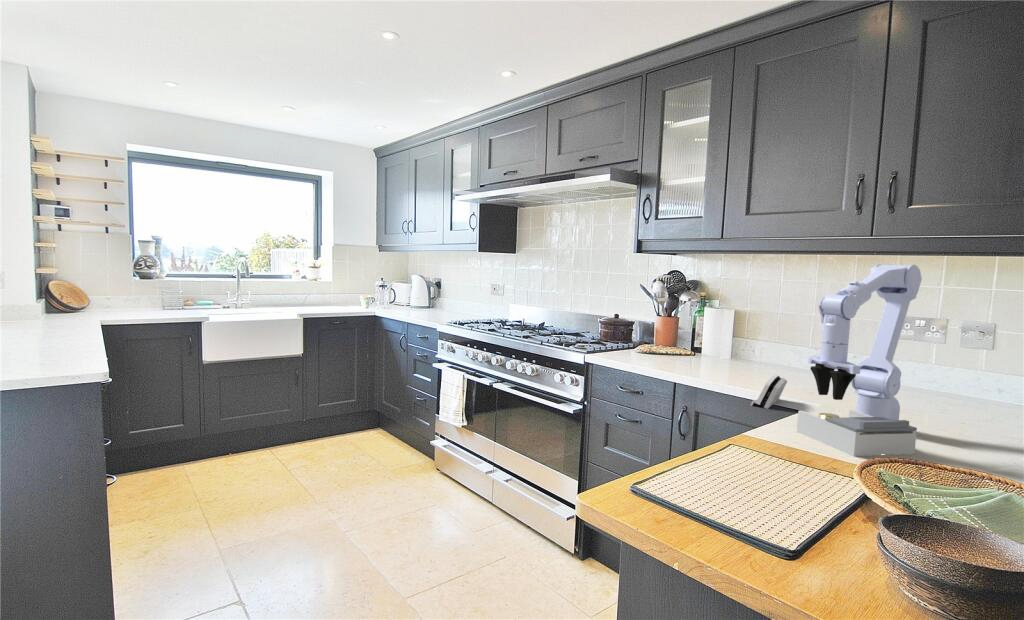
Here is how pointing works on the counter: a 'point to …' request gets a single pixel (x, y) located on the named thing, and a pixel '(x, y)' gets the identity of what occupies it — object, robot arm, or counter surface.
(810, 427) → the box
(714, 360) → the counter surface
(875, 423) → the lid
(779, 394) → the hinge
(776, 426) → the counter surface
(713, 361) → the counter surface
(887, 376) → the robot arm
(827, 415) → the gold small block
